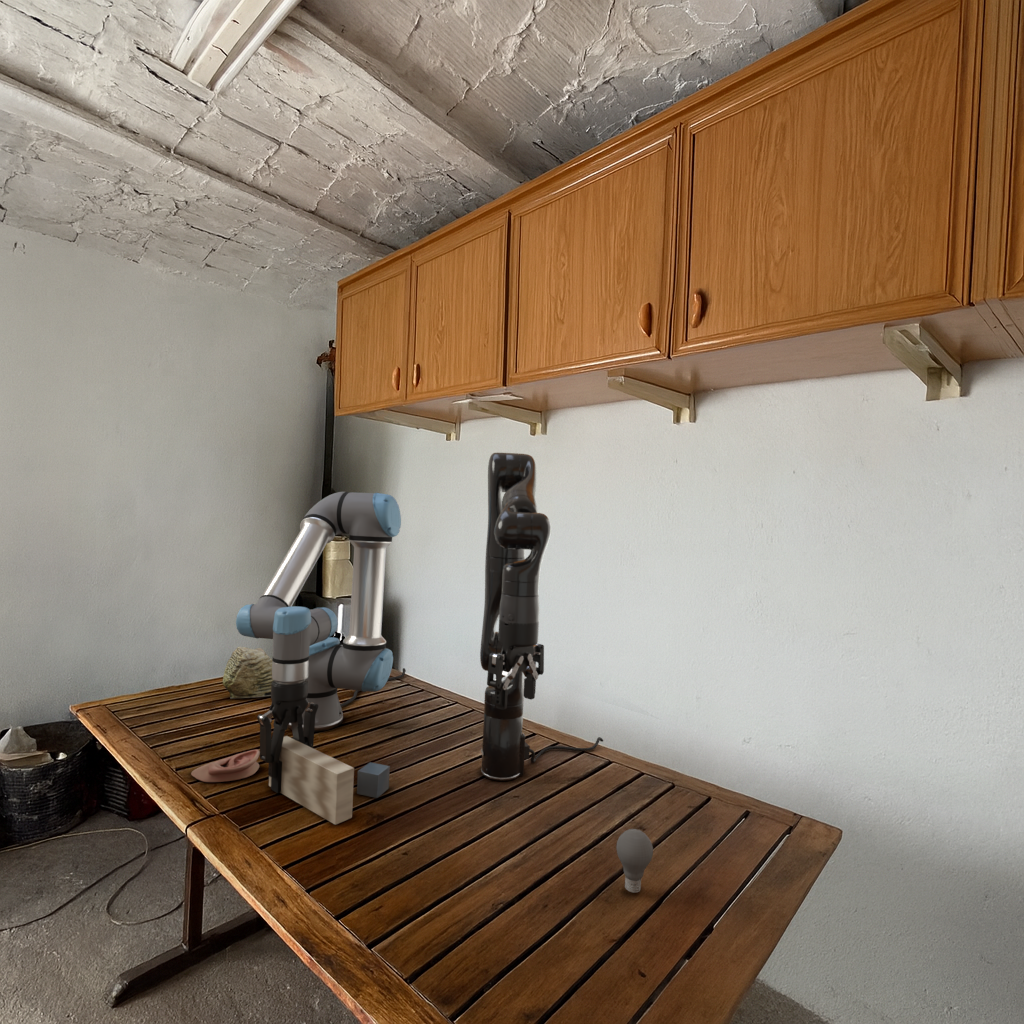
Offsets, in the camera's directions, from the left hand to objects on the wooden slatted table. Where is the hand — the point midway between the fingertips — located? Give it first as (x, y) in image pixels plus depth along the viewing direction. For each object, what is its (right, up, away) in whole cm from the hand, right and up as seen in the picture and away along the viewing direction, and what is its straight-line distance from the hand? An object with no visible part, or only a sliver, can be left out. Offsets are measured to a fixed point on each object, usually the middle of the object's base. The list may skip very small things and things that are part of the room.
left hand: (285, 786), depth 137 cm
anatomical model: (-16, +1, +6) cm, 17 cm away
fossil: (-32, +2, +61) cm, 69 cm away
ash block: (+7, -1, -5) cm, 9 cm away
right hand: (+50, +23, -17) cm, 57 cm away
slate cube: (+19, -1, 0) cm, 19 cm away
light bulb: (+69, -4, -31) cm, 76 cm away
